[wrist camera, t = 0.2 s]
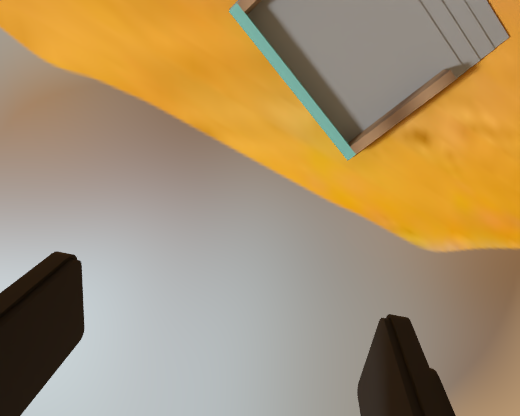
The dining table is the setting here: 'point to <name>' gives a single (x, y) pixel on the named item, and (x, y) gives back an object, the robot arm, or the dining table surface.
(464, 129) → the dining table surface
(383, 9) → the dock
